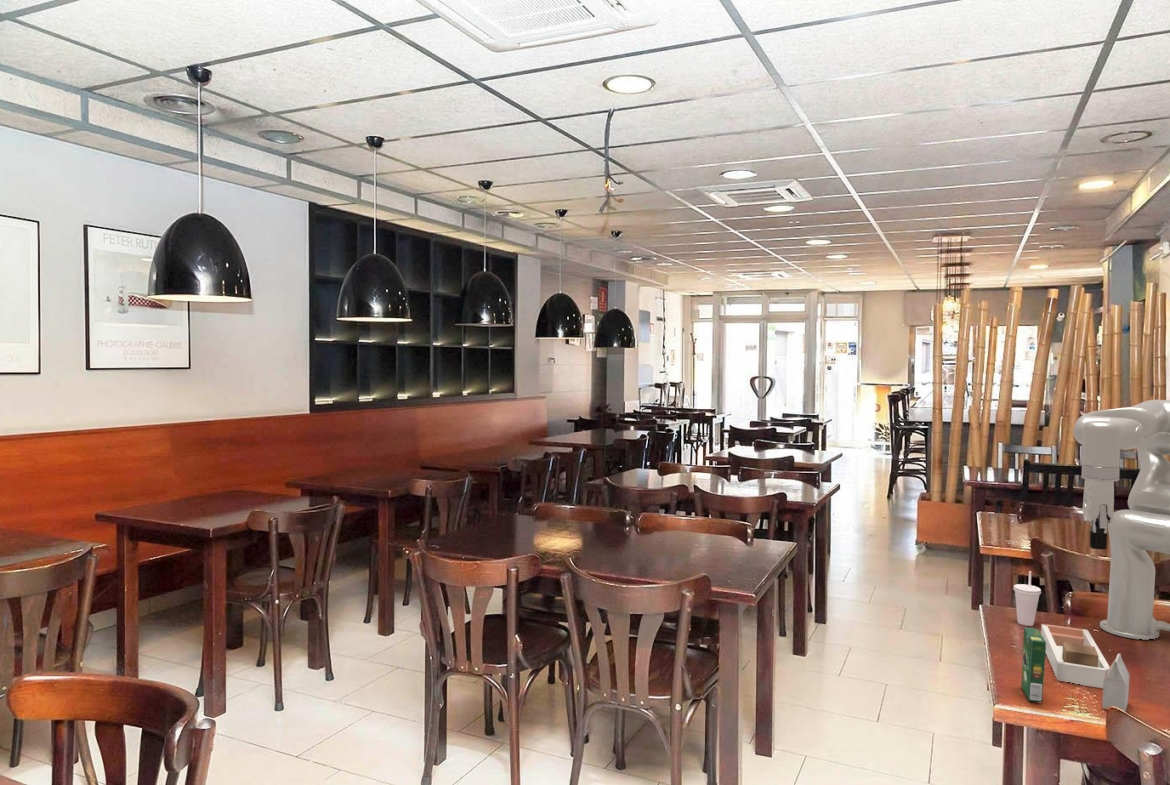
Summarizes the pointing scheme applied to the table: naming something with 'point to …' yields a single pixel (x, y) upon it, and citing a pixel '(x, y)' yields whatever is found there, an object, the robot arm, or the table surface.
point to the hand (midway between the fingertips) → (1098, 548)
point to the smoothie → (1026, 602)
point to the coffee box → (1033, 664)
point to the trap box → (1070, 670)
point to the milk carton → (1116, 685)
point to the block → (1080, 654)
